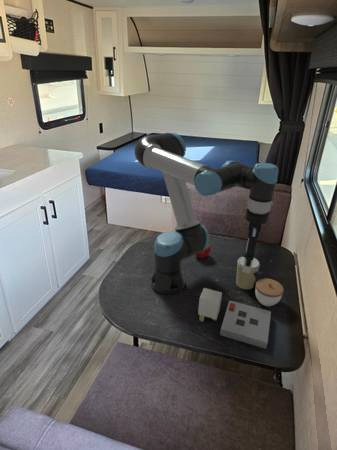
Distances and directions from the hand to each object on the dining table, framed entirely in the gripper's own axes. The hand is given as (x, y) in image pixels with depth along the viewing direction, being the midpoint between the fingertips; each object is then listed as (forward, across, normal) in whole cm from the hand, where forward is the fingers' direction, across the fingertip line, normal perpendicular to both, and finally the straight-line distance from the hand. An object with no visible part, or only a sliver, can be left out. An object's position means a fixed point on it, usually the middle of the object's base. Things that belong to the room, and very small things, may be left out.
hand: (247, 261), depth 110 cm
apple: (+23, +30, +22) cm, 44 cm away
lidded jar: (+22, +6, -10) cm, 25 cm away
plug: (+22, -10, +10) cm, 26 cm away
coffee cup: (+22, +15, -1) cm, 27 cm away
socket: (+21, -10, -4) cm, 24 cm away
